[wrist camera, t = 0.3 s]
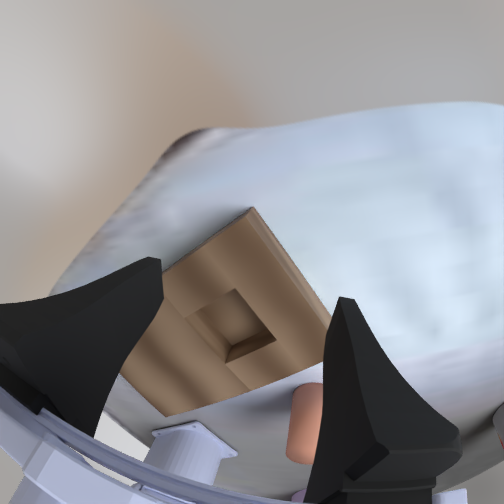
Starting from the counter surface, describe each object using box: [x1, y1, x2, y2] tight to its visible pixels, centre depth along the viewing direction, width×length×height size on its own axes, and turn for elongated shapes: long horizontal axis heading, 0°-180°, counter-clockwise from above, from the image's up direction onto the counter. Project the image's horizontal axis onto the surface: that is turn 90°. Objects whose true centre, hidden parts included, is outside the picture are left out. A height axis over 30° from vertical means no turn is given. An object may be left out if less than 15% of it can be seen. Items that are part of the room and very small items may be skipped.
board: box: [119, 207, 332, 417], centre depth 24 cm, size 20×12×3 cm, turn 127°
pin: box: [286, 383, 323, 464], centre depth 23 cm, size 4×4×7 cm
